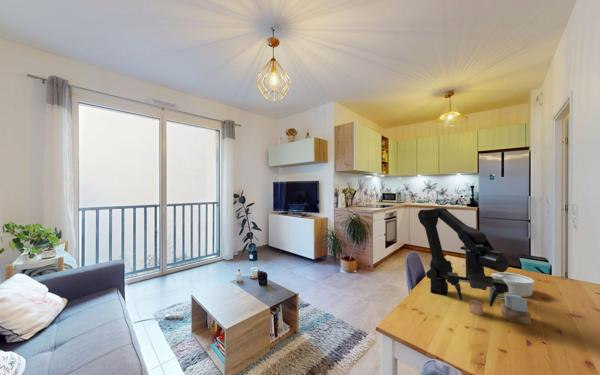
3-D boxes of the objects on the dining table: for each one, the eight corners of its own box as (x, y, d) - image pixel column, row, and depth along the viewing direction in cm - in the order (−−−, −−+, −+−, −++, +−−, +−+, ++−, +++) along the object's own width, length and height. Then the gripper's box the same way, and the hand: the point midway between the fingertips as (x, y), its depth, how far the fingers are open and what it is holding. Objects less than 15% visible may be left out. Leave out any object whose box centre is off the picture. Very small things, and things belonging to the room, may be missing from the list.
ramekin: (503, 295, 101) (502, 280, 101) (490, 284, 113) (490, 270, 113) (541, 300, 96) (541, 284, 96) (524, 288, 108) (524, 274, 108)
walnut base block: (509, 321, 81) (509, 310, 81) (501, 313, 87) (501, 303, 87) (531, 325, 79) (530, 313, 79) (520, 316, 85) (520, 305, 85)
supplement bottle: (509, 300, 97) (508, 277, 97) (494, 299, 98) (494, 276, 98) (500, 294, 102) (500, 273, 102) (487, 293, 103) (486, 272, 103)
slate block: (511, 310, 81) (511, 299, 81) (504, 304, 86) (504, 294, 86) (527, 312, 80) (527, 301, 80) (519, 306, 84) (519, 295, 84)
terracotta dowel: (470, 313, 86) (470, 303, 86) (468, 308, 90) (468, 298, 90) (483, 316, 84) (483, 305, 84) (481, 311, 88) (481, 301, 88)
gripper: (447, 265, 85) (448, 306, 85) (513, 274, 76) (514, 320, 76) (445, 258, 95) (446, 294, 95) (503, 264, 86) (504, 305, 85)
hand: (475, 303), depth 87 cm, fingers open, 9 cm apart
